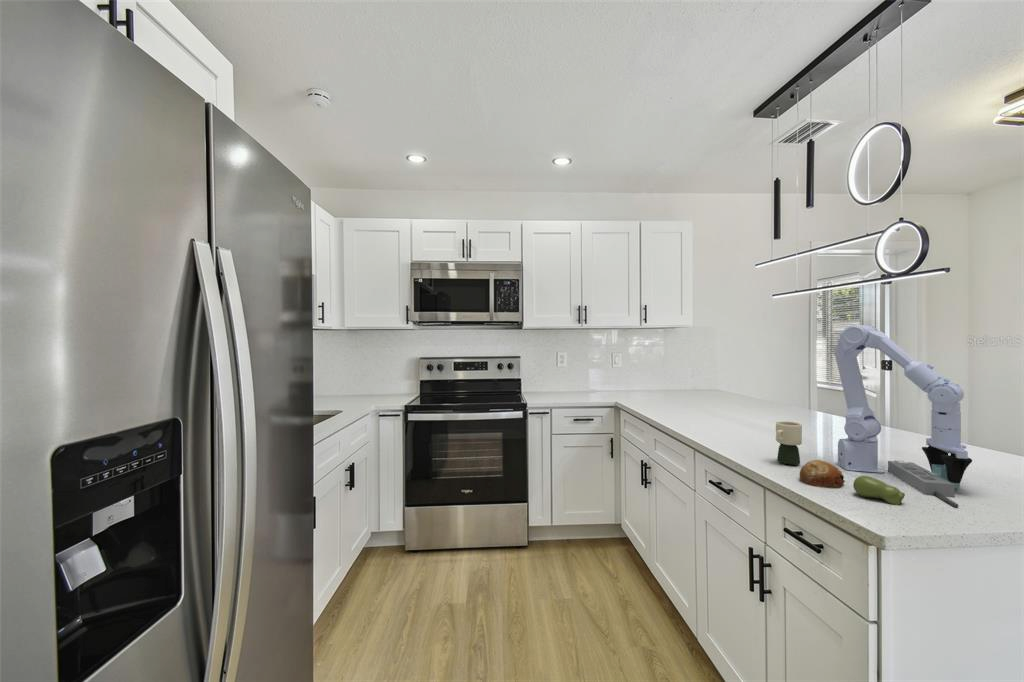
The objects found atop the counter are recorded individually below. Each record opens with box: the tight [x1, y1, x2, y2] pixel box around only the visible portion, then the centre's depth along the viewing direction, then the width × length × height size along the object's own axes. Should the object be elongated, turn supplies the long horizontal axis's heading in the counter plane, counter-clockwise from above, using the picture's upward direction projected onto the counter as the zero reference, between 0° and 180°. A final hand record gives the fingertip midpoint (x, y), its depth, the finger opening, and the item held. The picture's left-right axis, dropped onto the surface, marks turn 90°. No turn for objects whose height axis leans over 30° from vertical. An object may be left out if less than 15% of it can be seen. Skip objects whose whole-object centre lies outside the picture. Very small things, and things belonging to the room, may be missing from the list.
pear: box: [852, 475, 906, 506], centre depth 111 cm, size 6×5×10 cm
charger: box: [926, 464, 961, 490], centre depth 120 cm, size 6×4×5 cm
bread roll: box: [799, 459, 846, 489], centre depth 124 cm, size 10×10×8 cm
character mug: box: [775, 420, 803, 466], centre depth 141 cm, size 11×7×13 cm, turn 115°
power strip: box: [887, 459, 959, 508], centre depth 119 cm, size 6×28×4 cm, turn 161°
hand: (945, 478), depth 120 cm, fingers open, 7 cm apart
